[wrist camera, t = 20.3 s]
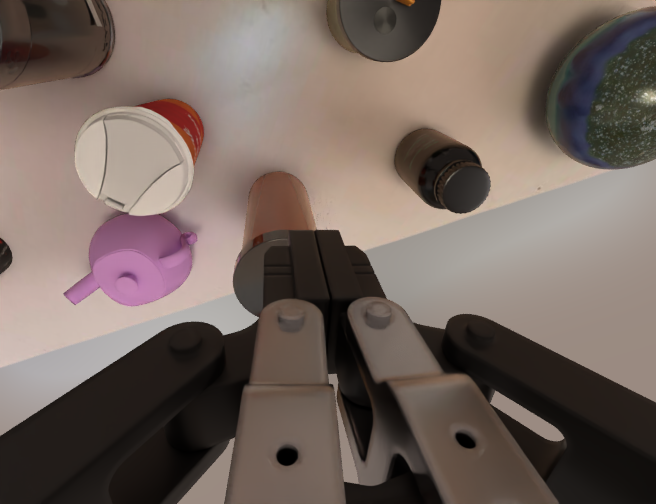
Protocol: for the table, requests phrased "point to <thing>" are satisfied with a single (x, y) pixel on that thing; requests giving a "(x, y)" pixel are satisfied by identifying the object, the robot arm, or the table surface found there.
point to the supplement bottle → (442, 171)
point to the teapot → (136, 260)
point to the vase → (608, 95)
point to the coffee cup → (140, 155)
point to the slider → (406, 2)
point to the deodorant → (4, 256)
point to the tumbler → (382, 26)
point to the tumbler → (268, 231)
